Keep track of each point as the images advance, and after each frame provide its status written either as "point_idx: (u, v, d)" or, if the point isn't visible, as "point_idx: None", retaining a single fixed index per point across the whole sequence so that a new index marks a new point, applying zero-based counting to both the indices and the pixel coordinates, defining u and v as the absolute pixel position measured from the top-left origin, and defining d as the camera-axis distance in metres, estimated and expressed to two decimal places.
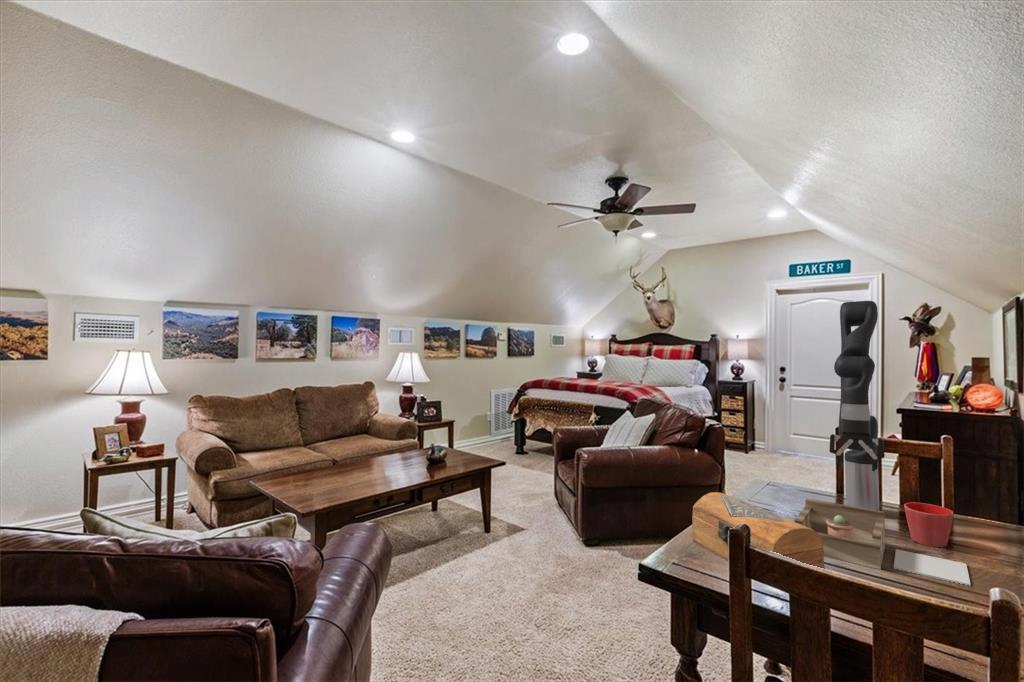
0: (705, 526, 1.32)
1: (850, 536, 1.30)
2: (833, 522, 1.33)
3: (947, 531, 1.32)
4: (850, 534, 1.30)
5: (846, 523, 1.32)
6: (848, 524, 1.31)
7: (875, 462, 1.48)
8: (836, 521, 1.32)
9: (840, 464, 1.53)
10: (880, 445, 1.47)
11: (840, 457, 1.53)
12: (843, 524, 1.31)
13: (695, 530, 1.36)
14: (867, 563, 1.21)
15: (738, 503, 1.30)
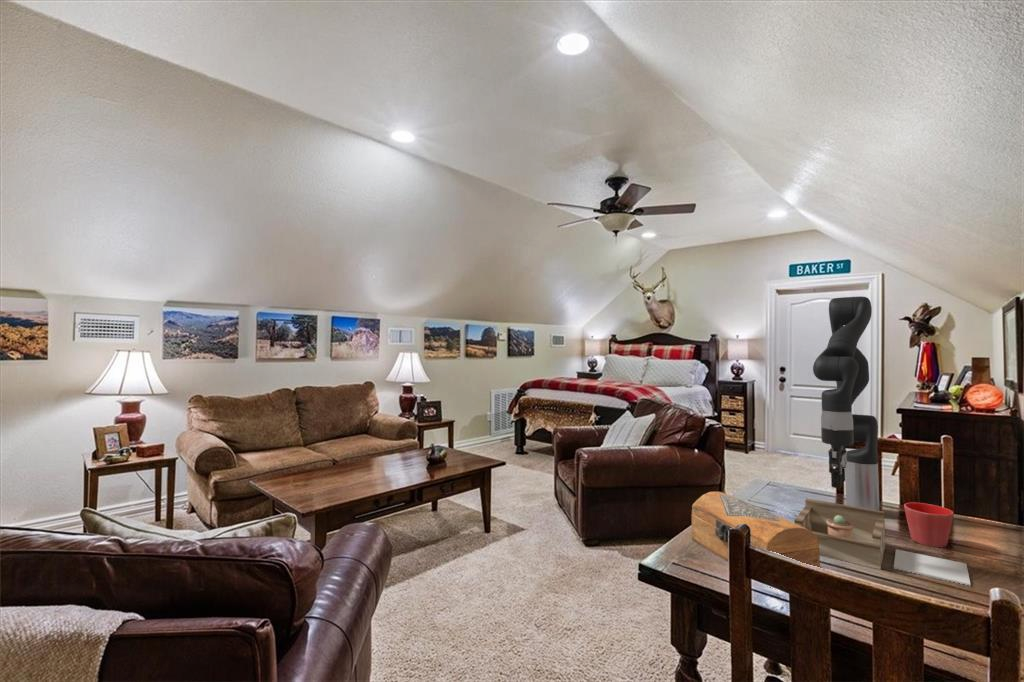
0: (704, 525, 1.33)
1: (850, 536, 1.30)
2: (833, 522, 1.33)
3: (947, 531, 1.32)
4: (850, 534, 1.30)
5: (846, 523, 1.32)
6: (848, 524, 1.31)
7: None
8: (836, 521, 1.32)
9: None
10: None
11: (840, 476, 1.29)
12: (843, 524, 1.31)
13: (694, 528, 1.38)
14: (867, 563, 1.21)
15: (736, 502, 1.30)
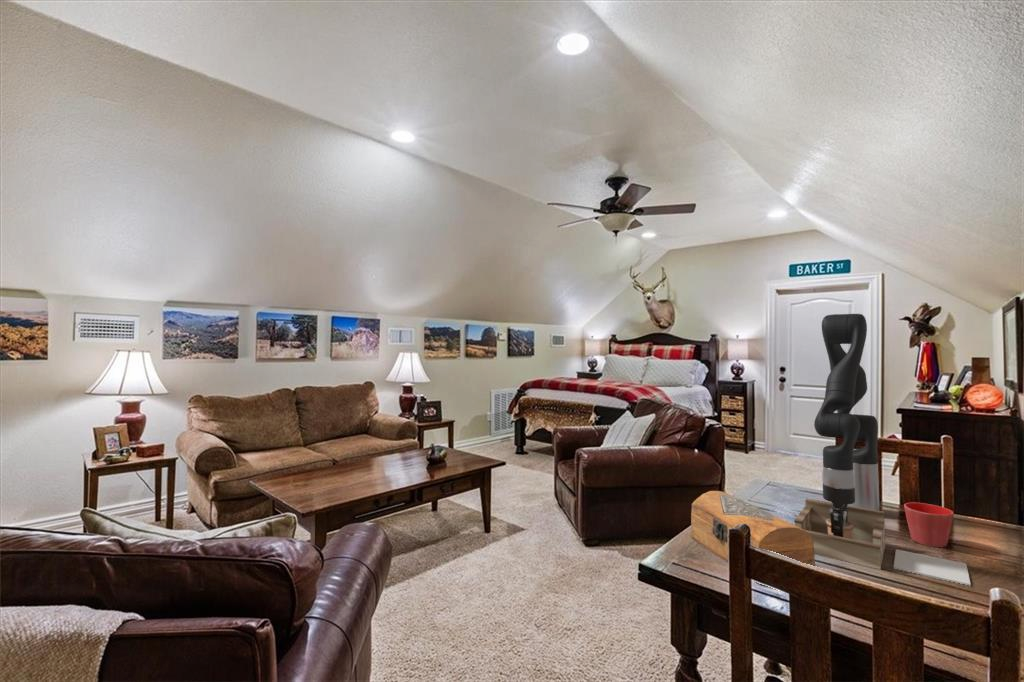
0: (702, 524, 1.35)
1: (850, 536, 1.30)
2: None
3: (947, 531, 1.32)
4: (850, 534, 1.30)
5: (846, 523, 1.32)
6: (848, 524, 1.31)
7: None
8: None
9: None
10: None
11: None
12: None
13: (693, 527, 1.39)
14: (867, 563, 1.21)
15: (734, 502, 1.31)
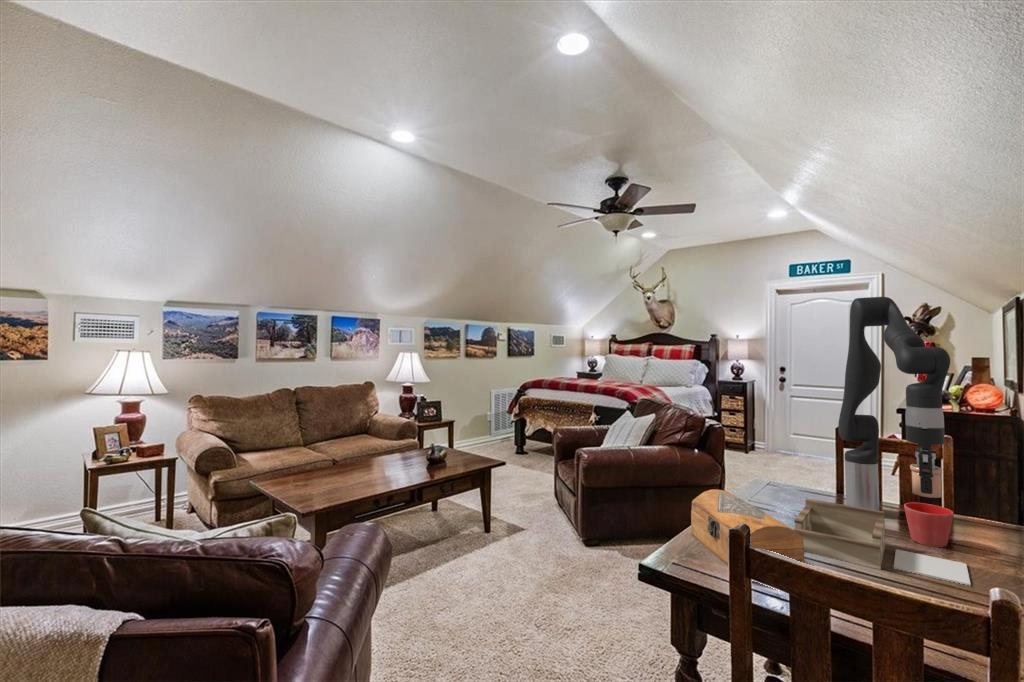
0: (699, 521, 1.37)
1: (940, 480, 1.18)
2: None
3: (947, 531, 1.32)
4: (939, 478, 1.18)
5: None
6: (937, 468, 1.19)
7: None
8: None
9: None
10: None
11: (931, 480, 1.18)
12: None
13: (693, 524, 1.41)
14: (867, 563, 1.21)
15: (730, 500, 1.32)
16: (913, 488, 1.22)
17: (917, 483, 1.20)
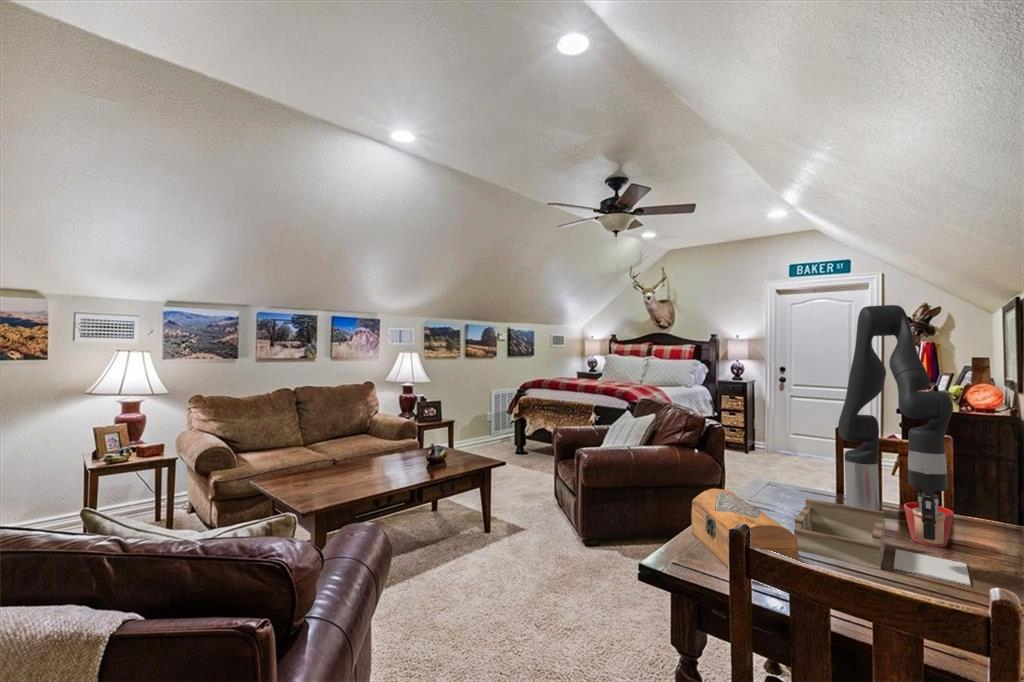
0: (698, 519, 1.38)
1: (942, 526, 1.18)
2: None
3: (947, 531, 1.32)
4: (942, 524, 1.18)
5: None
6: (939, 513, 1.19)
7: None
8: None
9: None
10: None
11: (934, 527, 1.17)
12: None
13: (693, 522, 1.42)
14: (867, 563, 1.21)
15: (729, 499, 1.33)
16: (916, 533, 1.21)
17: (920, 528, 1.20)
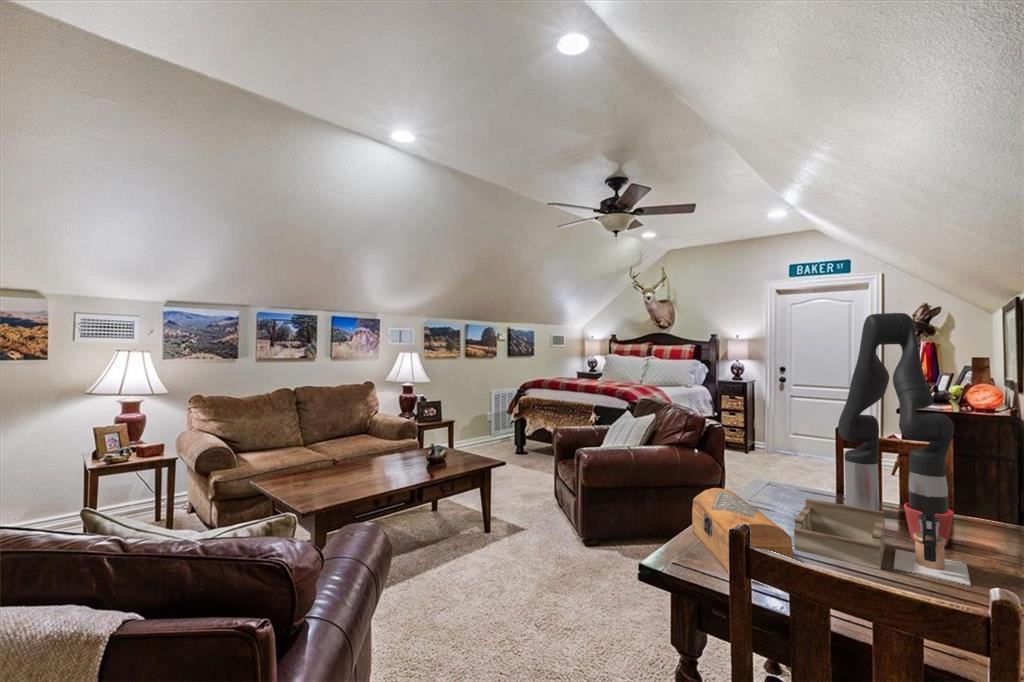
0: (698, 518, 1.39)
1: (943, 552, 1.18)
2: None
3: (947, 531, 1.32)
4: (943, 550, 1.18)
5: (937, 538, 1.20)
6: (940, 539, 1.19)
7: None
8: None
9: (935, 557, 1.16)
10: None
11: (935, 548, 1.16)
12: None
13: (693, 521, 1.43)
14: (867, 563, 1.21)
15: (727, 499, 1.34)
16: (916, 558, 1.21)
17: (920, 554, 1.20)
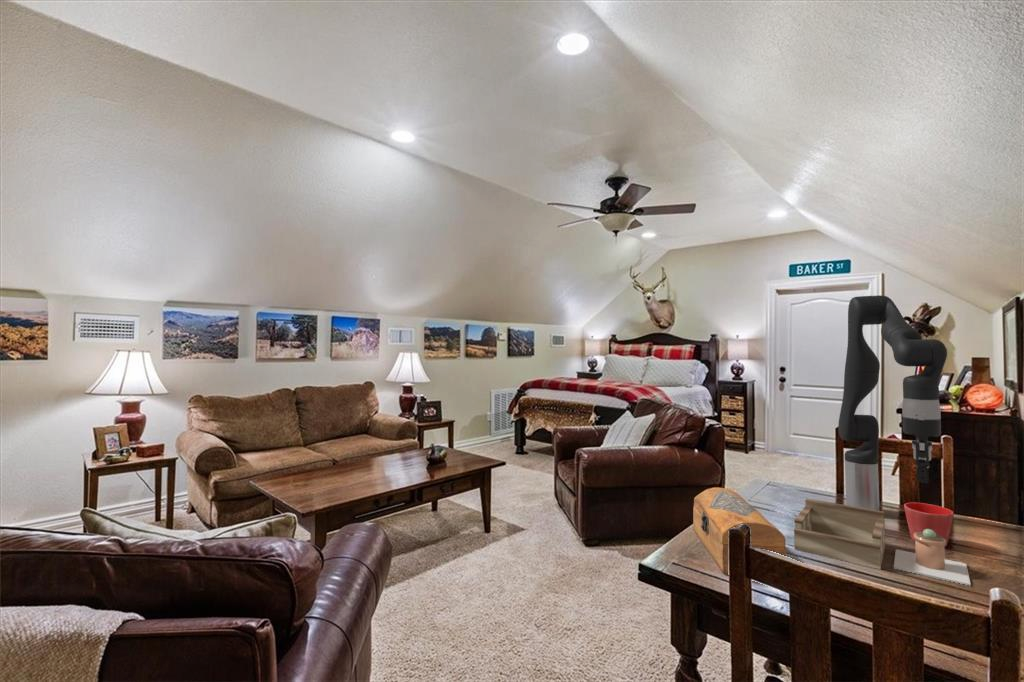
0: (698, 517, 1.40)
1: (943, 552, 1.18)
2: (923, 536, 1.20)
3: (947, 531, 1.32)
4: (943, 550, 1.18)
5: (938, 538, 1.19)
6: (940, 539, 1.19)
7: None
8: (926, 535, 1.20)
9: (928, 479, 1.18)
10: None
11: None
12: (935, 539, 1.19)
13: (694, 519, 1.45)
14: (867, 563, 1.21)
15: (726, 498, 1.35)
16: (916, 558, 1.21)
17: (920, 554, 1.20)
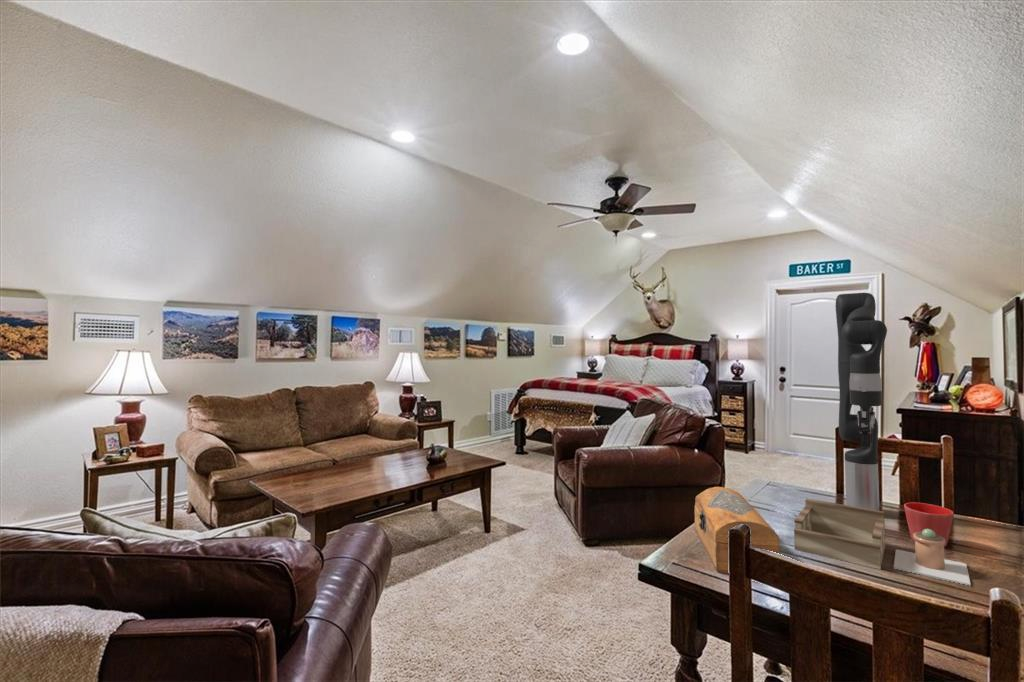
0: (698, 515, 1.41)
1: (943, 552, 1.18)
2: (922, 536, 1.20)
3: (947, 531, 1.32)
4: (942, 550, 1.18)
5: (937, 538, 1.19)
6: (940, 539, 1.19)
7: None
8: (925, 535, 1.20)
9: (870, 443, 1.33)
10: None
11: (870, 435, 1.33)
12: (934, 539, 1.19)
13: (695, 518, 1.46)
14: (867, 563, 1.21)
15: (725, 497, 1.35)
16: (916, 558, 1.21)
17: (920, 554, 1.20)
